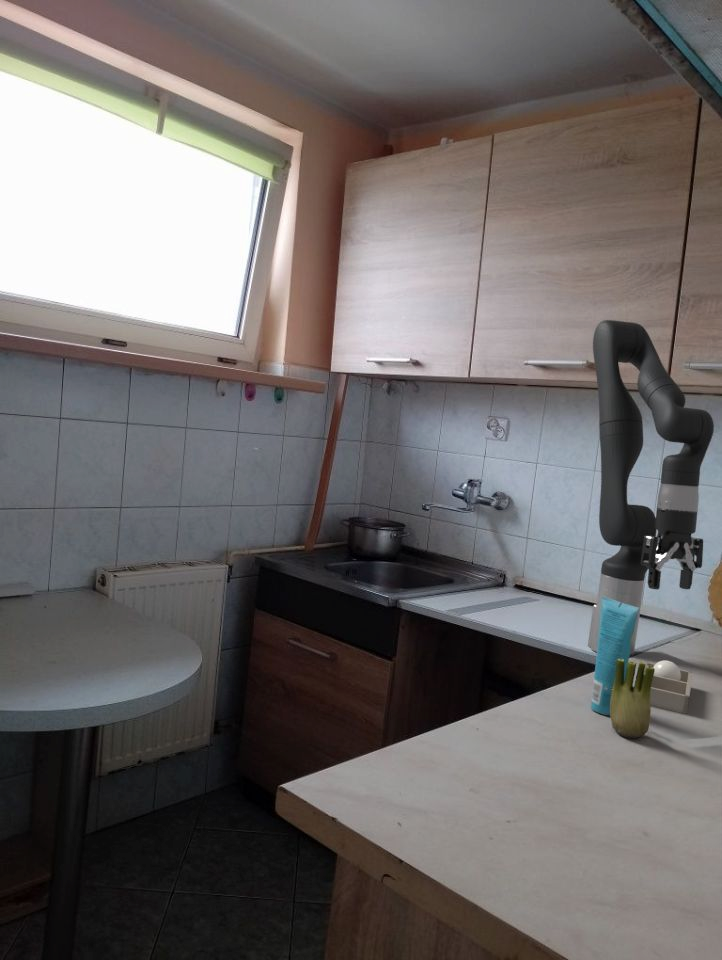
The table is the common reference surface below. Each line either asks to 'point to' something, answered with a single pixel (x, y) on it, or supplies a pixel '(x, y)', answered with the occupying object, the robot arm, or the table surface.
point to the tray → (670, 691)
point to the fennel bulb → (631, 699)
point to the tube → (611, 649)
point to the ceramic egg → (667, 670)
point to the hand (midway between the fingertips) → (669, 588)
